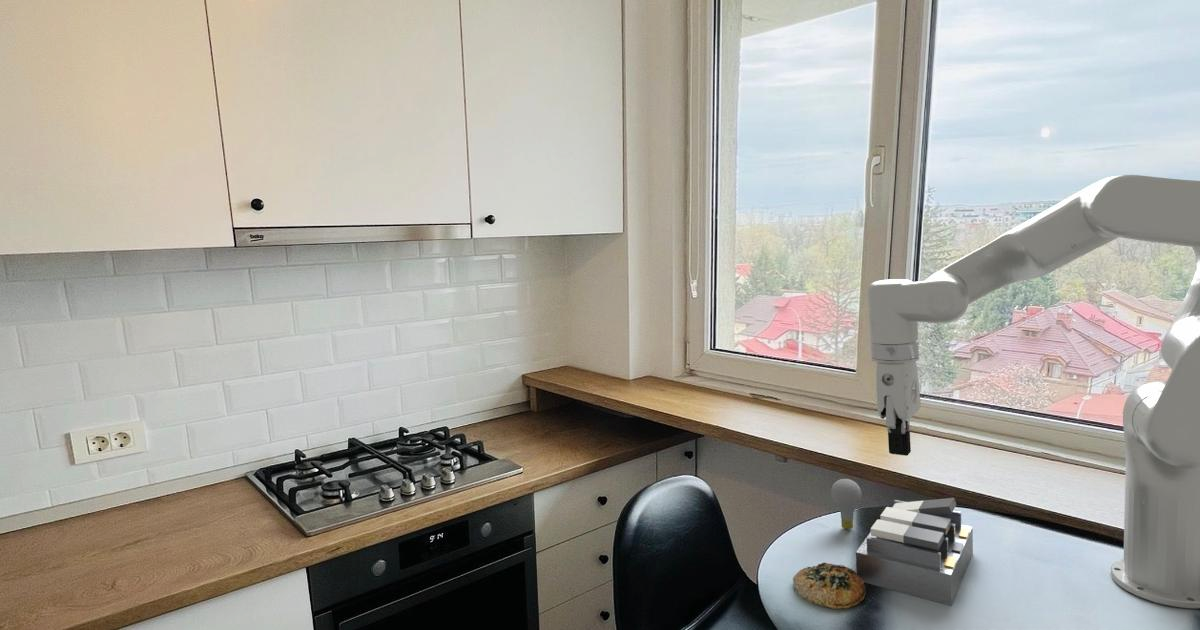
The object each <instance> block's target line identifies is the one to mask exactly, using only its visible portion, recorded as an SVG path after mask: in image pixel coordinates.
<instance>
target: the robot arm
mask: <svg viewBox="0 0 1200 630" xmlns="http://www.w3.org/2000/svg"><path fill="white" fill-rule="evenodd" d="M1118 238H1123V239H1128V240H1129V239H1130V240H1134V241H1135V240H1136V241H1143V242H1150V243H1157V244H1165V245H1174V246H1184V247H1192V249H1193V252H1194V255H1195V262H1196V263H1195V264H1196V265H1195V271H1194V274H1193V277H1192V280H1191V282H1190V284H1189V288H1188V290H1187V292H1186V295H1185V296H1184V299H1183V300H1182V302H1181V304H1180V305H1179V308H1178V310H1177V313H1176V314H1175V316H1174V318H1173V321H1172V323H1171V324H1170V326H1169V328H1168V329H1167V331H1166V333H1165V335H1164V337H1163V339H1162V341H1161V345H1160V346H1161V347H1160V352H1161V355H1162V359H1163V361H1164V362H1165V363H1166V364H1167V366H1168V367H1169V368H1170V369H1171V372H1170V374H1169V376H1168V378H1167V380H1154V381H1149V382H1146V383H1143V384H1141V385H1139V386H1138V387H1136V388H1135V389H1134V390H1132V392H1130V394H1129V395H1128V397H1126V400H1125V402H1124V405H1123V408H1122V409H1123V411H1122V425H1123V426H1122V427H1123V428H1122V429H1123V436H1124V437H1123V438H1124V449H1125V452H1124V453H1125V480H1124V481H1125V482H1124V516H1123V517H1124V518H1123V520H1124V521H1123V524H1124V525H1123V526H1124V528H1123V559H1119V560H1117V561H1115V562H1114V563H1112V565H1111V566H1110V576H1111V578H1112V580H1113V581H1114V582H1115V583H1116V584H1117V585H1118V586H1119V587H1121V588H1122V589H1123V590H1125V591H1126V592H1128V593H1129V594H1133V595H1134V596H1137V597H1139V598H1140V599H1144V600H1147V601H1149V602H1153V603H1157V604H1161V605H1165V606H1168V607H1169V606H1170V607H1174V608H1183V609H1200V180H1192V179H1191V180H1190V179H1180V178H1167V177H1158V176H1148V175H1140V174H1123V175H1115V176H1110V177H1106V178H1103V179H1100V180H1099V181H1097V182H1095V183H1092V184H1091V185H1089V186H1087V187H1085V188H1083V189H1082V190H1079V191H1078V192H1077V193H1076V192H1075V193H1074V194H1072V195H1071V196H1069V197H1068V198H1066V199H1063V200H1062V201H1060V202H1059V203H1057V204H1055V205H1054V206H1053V205H1052V206H1051V207H1050V208H1048V209H1046V210H1044V211H1043V212H1041V213H1039V214H1036V215H1035V216H1033V217H1032V218H1030V219H1028V220H1026V221H1024V222H1022V223H1021V224H1019V225H1017V226H1016V227H1013V228H1012V229H1010V230H1009V231H1008V230H1007V231H1006V232H1004V233H1003V234H1001V235H1000V236H998V237H997V238H995V239H994V240H992V241H991V242H989V243H987V244H984V245H983V246H982V247H980V248H978V249H976V250H974V251H972V252H971V253H969V254H967V255H965V256H963V257H961V258H960V259H958V260H956V261H954V262H952V263H950V264H948V265H947V266H945V267H943V268H942V269H940V270H938V271H937V272H935V273H933V274H932V275H930V276H928V277H927V278H925V279H924V280H921V281H912V280H911V279H905V278H902V279H901V278H891V279H890V278H889V279H882V280H877V281H874V282H871V284H869V286H868V288H867V299H868V301H867V303H868V305H867V306H868V318H869V319H868V320H869V321H868V322H869V334H870V335H869V336H870V355H871V361H873V362H874V363H876V373H875V377H876V380H875V381H876V382H875V383H876V388H875V389H876V407H877V415H878V417H879V418H880V419H881V420H883V419H885V428H886V429H887V438H888V452H889V454H891V455H898V456H906V457H907V456H909V454H910V453H911V450H912V449H911V432H910V428H911V427H910V420H911V419H912V418H913V417H914V416H915V414H916V413H918V411H919V410H920V408H921V404H922V403H921V392H920V383H919V382H920V381H919V373H918V366H917V365H918V364H917V361H919V360H920V348H919V331H918V329H919V328H918V327H919V326H918V324H919V322H920V323H927V324H937V325H938V324H939V325H940V324H942V325H944V324H945V325H946V324H951V323H954V322H956V321H957V320H959V319H961V317H963V316H964V315H965V313H966V312H967V309H968V307H969V305H970V304H972V303H974V302H975V301H976V302H977V301H978V300H979V299H981V298H983V297H986V296H987V295H989V294H991V293H993V292H995V291H997V290H1000V289H1002V288H1004V287H1006V286H1009V285H1012V284H1014V283H1015V284H1016V283H1018V282H1022V281H1027V280H1032V279H1036V278H1039V277H1043V276H1045V275H1047V274H1050V273H1052V272H1054V271H1056V270H1058V269H1060V268H1062V267H1064V266H1065V265H1068V264H1069V263H1071V262H1073V261H1075V260H1077V259H1079V258H1080V257H1082V256H1085V255H1087V254H1088V253H1090V252H1093V251H1094V250H1096V249H1098V248H1101V247H1103V246H1105V245H1107V244H1108V243H1110V242H1112V241H1115V240H1116V239H1118Z"/></svg>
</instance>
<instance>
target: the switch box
mask: <svg viewBox="0 0 1200 630" xmlns="http://www.w3.org/2000/svg"><path fill="white" fill-rule="evenodd" d="M903 502H906V500H905V501H903V500H898V499H894V500H893V505H894V504H895V503H903ZM933 516H938V517H943V518H948V519H951V527H950V529H949V530H948V532H947V534H946V535H944V540H943V542H942V544H941V546H940V548H939V550H934V549H930V548H925V547H921V546H916V545H912V544H907V543H905V544H904V543H902V542H898V541H894V540H889V539H884V538H880V537H875V536H871V531H870V532H869V533H868V535H867V536H866V537H865V539H864V540H863V542H862V543H861V544H860V546H859V547H858V549H857V550H856V551H855V566H856V573H857V574H858V575H859V576H860V578H861V579H862V580H863V582H864V584H870V585H872V586H877V587H879V588H880V587H881V588H884V589H888V590H892V591H895V592H899V593H903V594H905V595H906V594H907V595H910V596H912V597H913V596H914V597H918V598H921V599H926V600H929V601H933V602H936V603H941V604H944V605H947V606H953V603H954V601H955V598H956V596H957V594H958V591H959V589H960V587H961V584H962V582H963V579H964V576H965V574H966V571H967V570H968V568H969V564H970V562H971V560H972V556H973V555H974V551H973V550H974V540H973V539H974V538H973V535H974V533H973V530H974V529H973V526H971V525H965V524H962V511H958V510H955V509H954V510H953V512H952V513H949V514H936V515H933Z"/></svg>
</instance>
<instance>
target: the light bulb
mask: <svg viewBox="0 0 1200 630" xmlns="http://www.w3.org/2000/svg"><path fill="white" fill-rule="evenodd" d="M830 492H831V493H830V496H831V498H832V500H833V503H834V504H835V505H836V507H837V508H838V510H839V512H840V518H841V520H840V521H841V527H842V529H845V530H847V531H849V530H852V529H853V528H854V512H855V511H856V509H857V508H858V507H859V505H860V503H861V501H862V497H863V496H862V490H861V487H860V486H859V484H858V483H857V482H855V480H852V479H850V478H840V479H838V480H837V481H835V482H834V483H833V484H832V486H831V489H830Z"/></svg>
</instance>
